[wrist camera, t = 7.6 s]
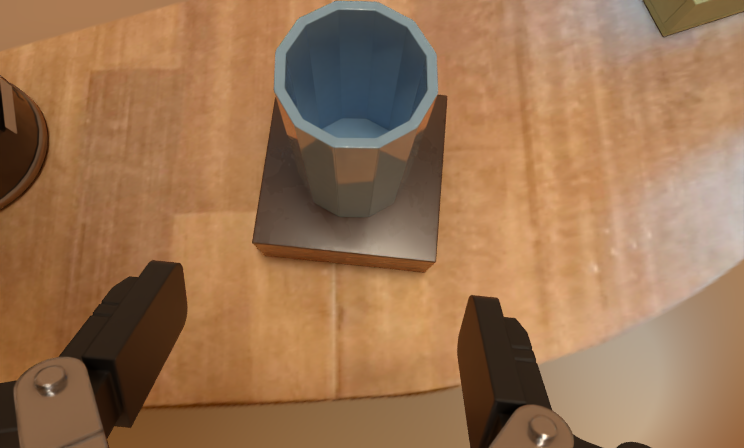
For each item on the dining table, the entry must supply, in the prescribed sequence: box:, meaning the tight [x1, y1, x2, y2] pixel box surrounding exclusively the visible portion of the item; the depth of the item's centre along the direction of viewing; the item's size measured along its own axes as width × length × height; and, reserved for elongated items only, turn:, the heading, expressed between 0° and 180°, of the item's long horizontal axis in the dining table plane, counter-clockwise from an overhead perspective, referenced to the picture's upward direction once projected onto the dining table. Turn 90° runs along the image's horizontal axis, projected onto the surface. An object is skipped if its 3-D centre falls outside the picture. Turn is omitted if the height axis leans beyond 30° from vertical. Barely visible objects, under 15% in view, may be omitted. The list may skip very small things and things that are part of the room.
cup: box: [274, 1, 438, 217], centre depth 23 cm, size 6×6×10 cm
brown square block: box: [252, 95, 447, 272], centre depth 30 cm, size 10×10×4 cm
